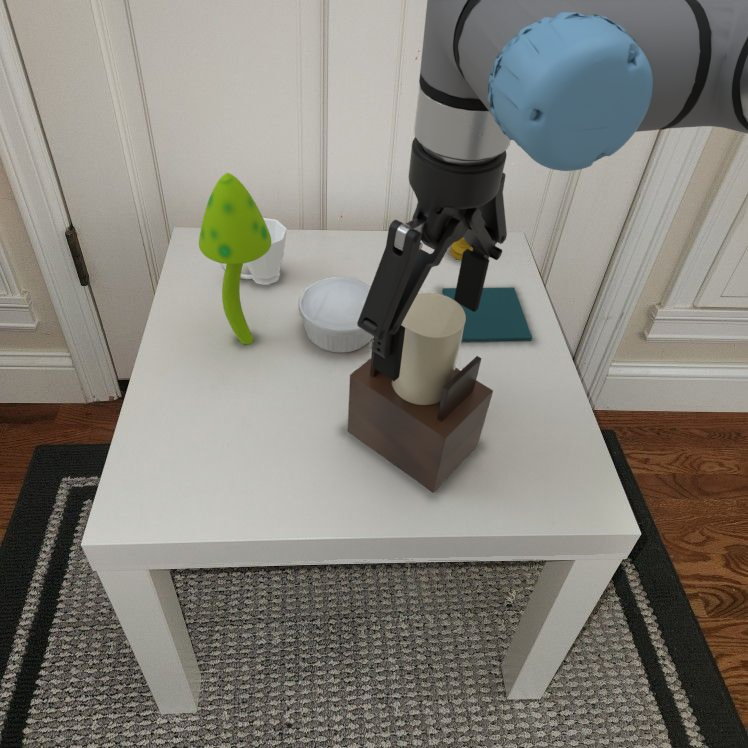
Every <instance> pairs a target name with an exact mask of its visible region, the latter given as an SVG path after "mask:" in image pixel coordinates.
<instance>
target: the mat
mask: <svg viewBox="0 0 748 748" xmlns="http://www.w3.org/2000/svg"><path fill="white" fill-rule="evenodd" d="M441 292H442V295H445V296H447V297H449V298H451V299H453V300H454V297H455V292H456V287H442V290H441ZM458 304H459V303H458ZM459 305H460V306H461V307H462V308H463V310H464V312H465V315H466V321H465V326H464V331H463V335H462V340H461V343H479V342H481V343H483V342H525V341H528V342H530V341H532V340H533V336H532V333H531V331H530V328H529V325H528V322H527V320H526V316H525V314H524V311H523V308H522V306H521V303H520V300H519V297H518V294H517V291H516V289H515V287H514V286H513V287H511V286H510V287H483V290H482V295H481V299H480V303H479V308H478V309H477V310H476V311H475V312H473V311H471V310H469V309H468V308H466V307H464V306H462V305H461V304H459Z"/></svg>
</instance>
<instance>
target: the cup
mask: <svg viewBox="0 0 748 748" xmlns="http://www.w3.org/2000/svg"><path fill="white" fill-rule="evenodd" d="M263 219H264V221H265V223H266V226H267V228H268V230H269V233H270V236H271V246H270V249H269V250H268V251H267V253H266V254H264V255H263V256H262V257H260V258H258V259H256V260H254V261H251V262H248V263H245V264H246V267H247V269H248V272H250V274H247V273H246V274H245V273H242V272H241V277H240V279H244V280H253V282H254V283H256V285H265V286H269V285H272V284H275V283H277V282H279V279H280V277H281V272H280V270H281V269H282V264H283V258H284V255H285V248H286V247H285V246H286V239H287V230H288V228H287V227H286V226H284V224H283V223H281V222H280V221H279V220H278V219H277V218H276V219H275V218H269V217H268V218H267V217H263ZM219 265H220V267H221V269H222V270H224V271H225V269H226V264H224V263H219Z"/></svg>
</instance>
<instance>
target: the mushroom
mask: <svg viewBox="0 0 748 748" xmlns="http://www.w3.org/2000/svg"><path fill="white" fill-rule="evenodd" d="M263 218H264V217H263V215H262V213H261V211H260V209H259V206H258V205H257V203H256V202H255V200H254V198H253V196H252V195H251V194H250V192H249V190H248V189H247V188H246V186H245V185H244V184H243V183H242V182H241V181H240V180H239V179H238V178H237V177H236V176H235V175H234V174H232V173H230V172H226V173H224V174H223V175H222V176H221V177H219V179H218V181H217V182H216V183H215V185H214V186H213V189H212V191H211V194H210V195H209V198H208V201H207V204H206V206H205V211H204V213H203V218H202V222H201V226H200V231H199V236H198V237H199V238H198V246H199V250H200V252H201V253H202V255H204V257H206V258H207V259H209V260H211V261H213V262H215V263H218V264H220V263H223V265H225V266H226V269H225V270H224V275H223V280H222V289H221V301H222V306H223V311H224V314H225V317H226V319H227V322H228V323H229V325H230V327H231V329H232V331H233V333H234V334H235V336H236V338H237V339H238V341H239V342H240V343H241V344H242V345H250V344H252V343H253V342H254V336H253V334H252V331H251V330H250V327H249V325H248V322H247V320H246V317H245V314H244V311H243V306H242V303H241V292H240V290H241V289H240V287H241V278H240V277H241V273H242V271H243V265H244V264H246V263H248V262H251V261H254V260H256V259H258V258H260V257H262V256H263V255H264V254H266V253H267V251H268V250H269V249H270V246H271V236H270V233H269V230H268V228H267V226H266V223H265V221H264V219H263Z"/></svg>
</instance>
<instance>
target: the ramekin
mask: <svg viewBox="0 0 748 748" xmlns="http://www.w3.org/2000/svg"><path fill="white" fill-rule="evenodd" d="M370 288H371V285H370V284H369V283H366V282H365V281H362V280H361V279H356V278H354V277H353V278H352V277H346V276H331V277H326V278H322V279H320V280H316V281H315V282H313V283H311V284H310V285H308V286H307V287H306V288H304V289H303V291H302V292H301V293H300V296H299V298H298V305H297V306H298V312H299V315H300V318H301V319H302V323H303V327H304V330H305V333H306V336H307V337H308V338H309V340H310V341H311V342H312V343H313V344H314V345H316V347H318V348H320V349H322V350H324V351H326V352H327V351H328V352H331V353H341V354H343V353H350V352H354V351H357V350H359V349H361V348H364V346H367V344H369V343H370V341H372V340H373V337H374V336H373V335H371V334H369V333H368V332H366V331H365V330H363V329H361V328H360V327H358V326H357V323H358V320H359V317H360V314H361V312H362V309H363V306H364V304H365V301H366V298H367V296H368V293H369V290H370Z"/></svg>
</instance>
